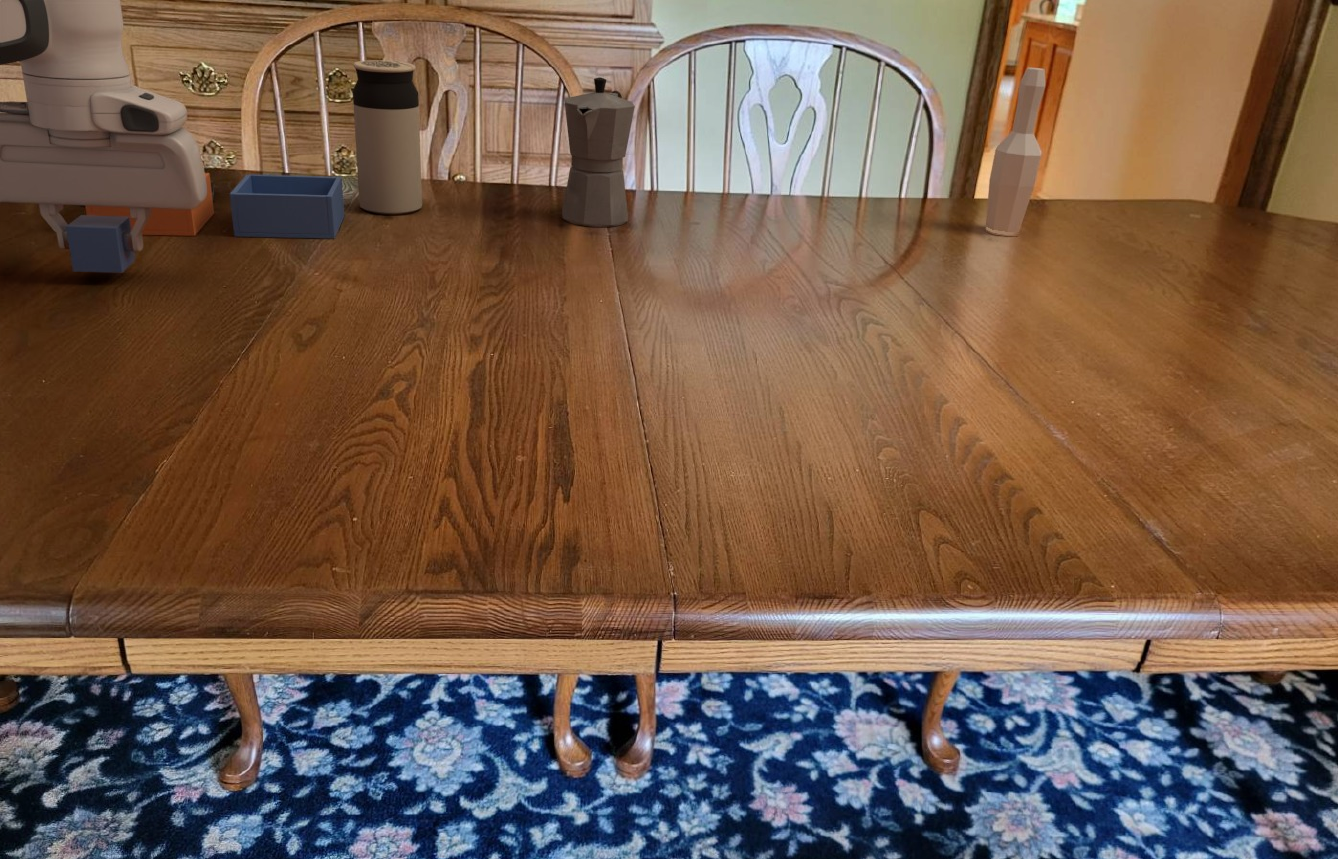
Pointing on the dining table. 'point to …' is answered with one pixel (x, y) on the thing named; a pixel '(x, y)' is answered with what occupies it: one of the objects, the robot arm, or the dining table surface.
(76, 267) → the blue block
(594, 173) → the coffeepot
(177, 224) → the orange bin
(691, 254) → the dining table surface
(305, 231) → the blue bin
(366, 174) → the travel mug
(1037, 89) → the low poly bottle
